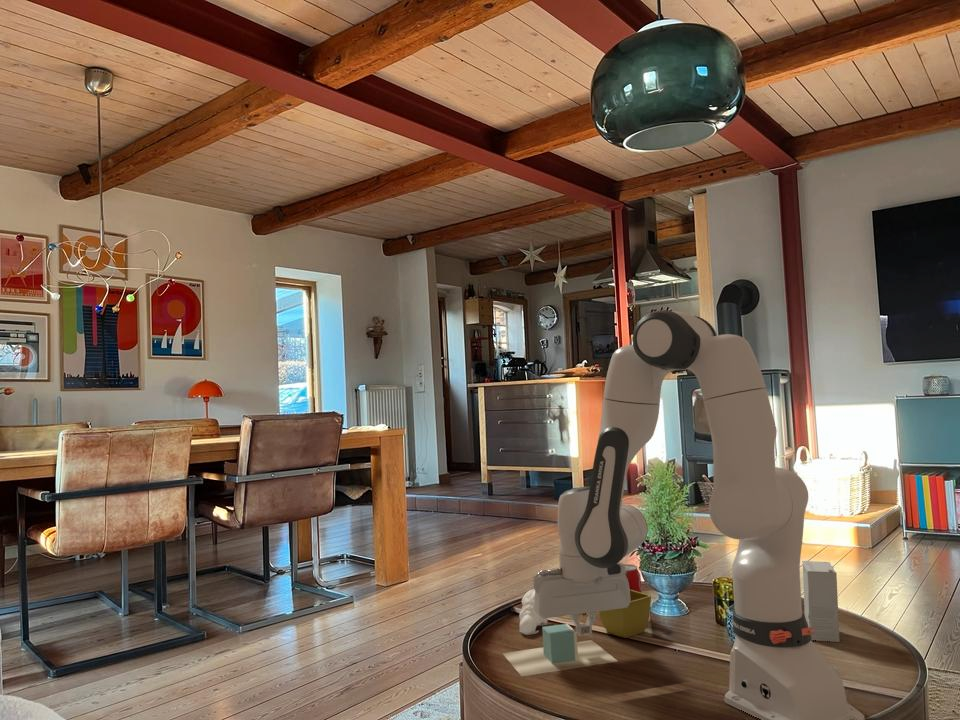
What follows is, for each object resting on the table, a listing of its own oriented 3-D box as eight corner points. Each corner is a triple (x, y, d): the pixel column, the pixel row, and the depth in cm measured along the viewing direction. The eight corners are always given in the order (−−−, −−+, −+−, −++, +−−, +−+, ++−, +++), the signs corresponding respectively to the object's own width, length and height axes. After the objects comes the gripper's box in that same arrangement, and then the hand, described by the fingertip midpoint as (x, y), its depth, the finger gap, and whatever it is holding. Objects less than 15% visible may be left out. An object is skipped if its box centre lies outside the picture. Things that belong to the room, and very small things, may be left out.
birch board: (618, 666, 141) (618, 661, 141) (522, 681, 136) (521, 676, 136) (591, 644, 154) (591, 640, 154) (502, 658, 149) (502, 653, 149)
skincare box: (804, 628, 157) (799, 560, 158) (834, 629, 155) (829, 560, 156) (810, 641, 149) (805, 569, 150) (842, 643, 147) (837, 570, 148)
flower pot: (654, 636, 157) (652, 595, 157) (626, 646, 152) (623, 603, 152) (625, 627, 164) (623, 587, 165) (597, 635, 159) (595, 594, 160)
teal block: (576, 632, 143) (550, 635, 142) (578, 660, 143) (551, 663, 142) (567, 623, 149) (542, 626, 147) (569, 650, 148) (543, 654, 147)
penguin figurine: (549, 586, 169) (537, 607, 157) (551, 622, 169) (540, 645, 158) (523, 586, 171) (510, 605, 159) (525, 621, 171) (513, 643, 160)
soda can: (643, 623, 166) (640, 570, 167) (612, 622, 167) (609, 570, 168) (642, 613, 173) (639, 563, 173) (613, 613, 174) (610, 563, 175)
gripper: (538, 575, 142) (541, 645, 141) (632, 564, 147) (635, 632, 147) (528, 567, 148) (531, 635, 147) (618, 557, 153) (621, 623, 153)
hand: (583, 634), depth 147 cm, fingers closed
